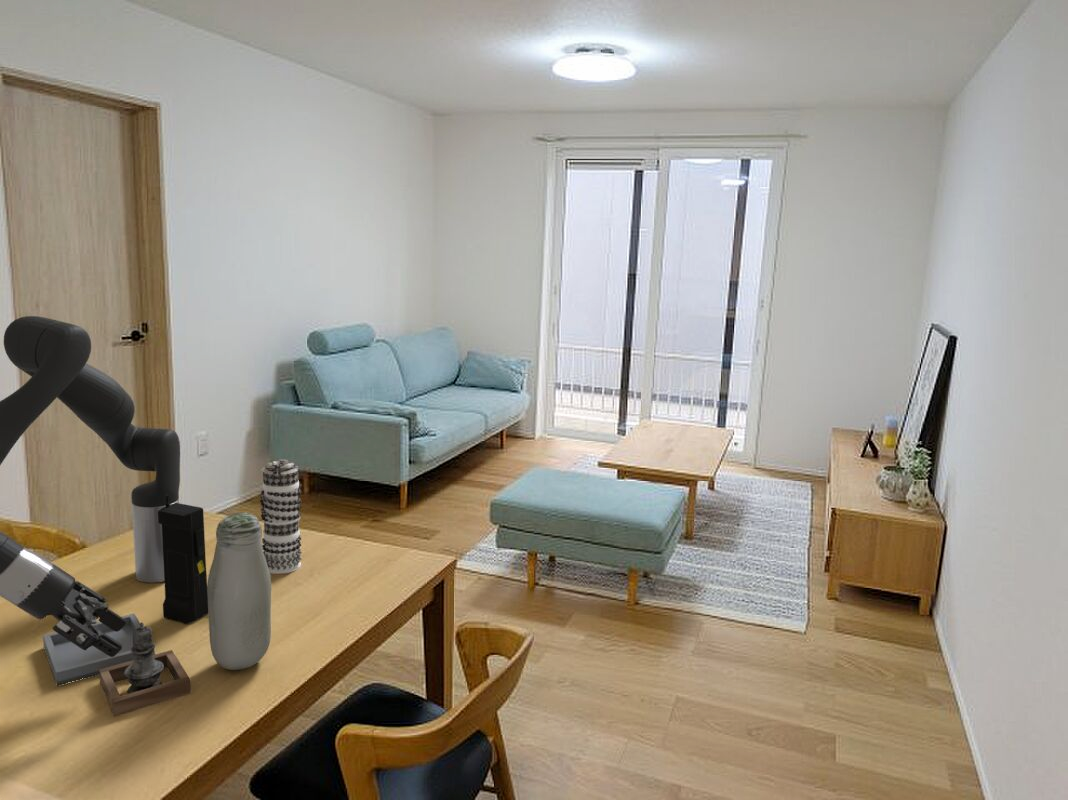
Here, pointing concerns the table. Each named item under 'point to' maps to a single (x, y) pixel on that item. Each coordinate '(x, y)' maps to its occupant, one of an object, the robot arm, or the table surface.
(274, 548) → the decorative candle
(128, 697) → the walnut collar
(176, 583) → the portable radio
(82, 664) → the grey tray
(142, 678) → the dark grey chess piece
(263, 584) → the glass bottle
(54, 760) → the table surface
